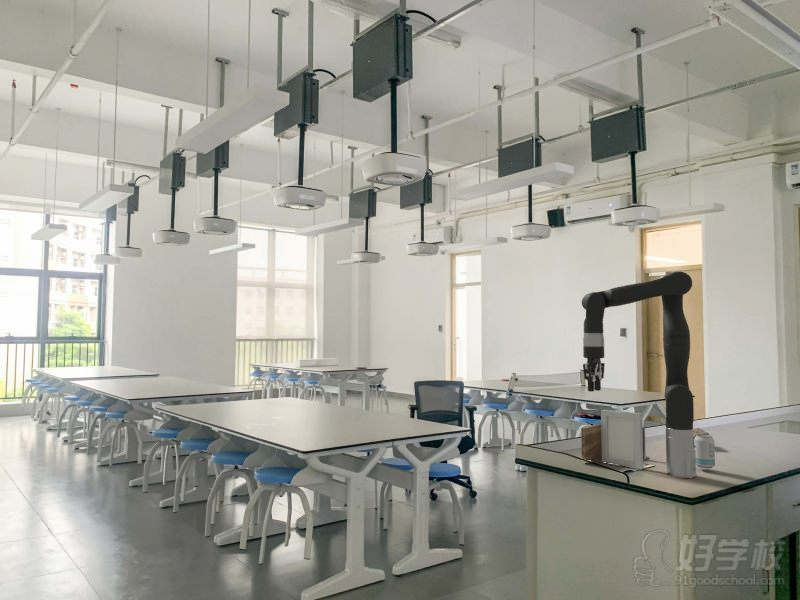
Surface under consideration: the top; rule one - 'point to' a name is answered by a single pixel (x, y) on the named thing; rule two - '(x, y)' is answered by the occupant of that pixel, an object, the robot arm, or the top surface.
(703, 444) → the beverage can
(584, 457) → the shelf back
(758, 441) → the top surface
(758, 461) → the top surface
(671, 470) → the robot arm
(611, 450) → the picture frame
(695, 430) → the pumice stone
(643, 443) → the bookend
